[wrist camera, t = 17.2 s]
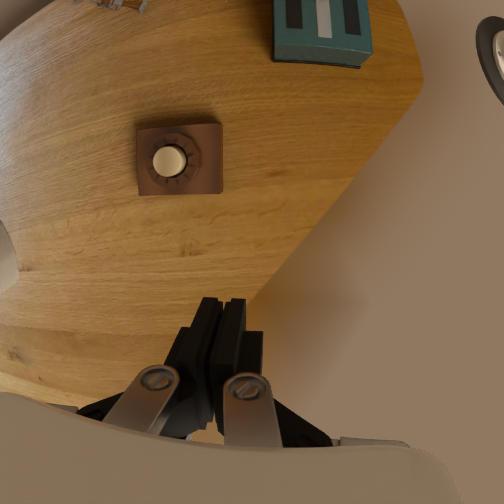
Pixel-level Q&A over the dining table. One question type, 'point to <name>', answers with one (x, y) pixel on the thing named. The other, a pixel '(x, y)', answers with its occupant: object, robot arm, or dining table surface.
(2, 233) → the lumpy-topped squat cylinder
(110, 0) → the wooden post with brackets
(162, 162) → the button
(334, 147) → the dining table surface
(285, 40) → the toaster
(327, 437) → the robot arm
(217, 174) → the control block
